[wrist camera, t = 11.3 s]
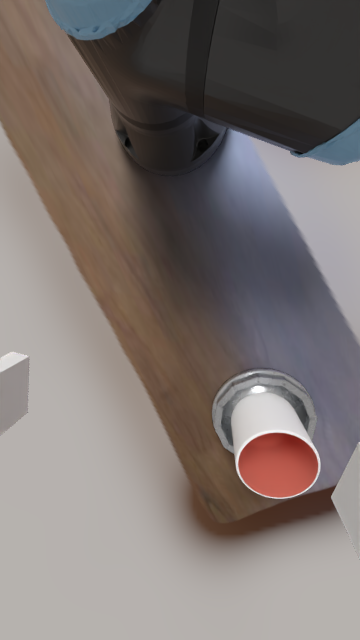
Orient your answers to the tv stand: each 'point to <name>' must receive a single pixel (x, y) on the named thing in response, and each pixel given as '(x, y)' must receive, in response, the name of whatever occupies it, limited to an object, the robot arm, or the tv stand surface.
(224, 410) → the faceted steel dish
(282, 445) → the cup
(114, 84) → the robot arm
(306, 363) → the tv stand surface
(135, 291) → the tv stand surface
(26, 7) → the tv stand surface
